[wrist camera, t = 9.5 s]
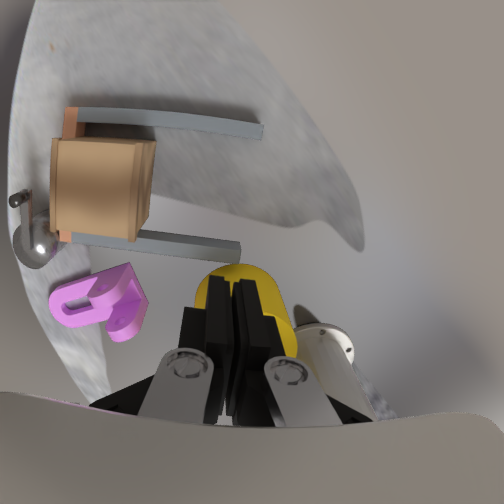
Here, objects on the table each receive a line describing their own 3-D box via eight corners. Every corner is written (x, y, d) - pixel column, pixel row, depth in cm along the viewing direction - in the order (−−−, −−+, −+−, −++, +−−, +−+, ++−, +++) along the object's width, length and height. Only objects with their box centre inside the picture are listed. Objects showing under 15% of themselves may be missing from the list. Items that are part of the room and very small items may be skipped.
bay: (237, 254, 35) (238, 264, 33) (68, 233, 32) (59, 240, 30) (260, 124, 30) (264, 124, 28) (75, 107, 27) (65, 106, 25)
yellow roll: (214, 346, 40) (215, 400, 31) (181, 281, 36) (171, 330, 27) (289, 320, 39) (307, 372, 31) (265, 251, 36) (280, 293, 27)
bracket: (129, 261, 35) (112, 291, 28) (148, 302, 37) (137, 338, 30) (46, 289, 35) (21, 319, 28) (66, 325, 37) (46, 357, 31)
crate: (150, 218, 33) (134, 242, 26) (79, 210, 32) (50, 231, 25) (158, 139, 30) (142, 143, 23) (83, 133, 29) (52, 138, 22)
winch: (69, 253, 33) (39, 284, 26) (35, 248, 32) (2, 276, 25) (69, 180, 30) (33, 196, 23) (33, 177, 29) (-6, 193, 22)
